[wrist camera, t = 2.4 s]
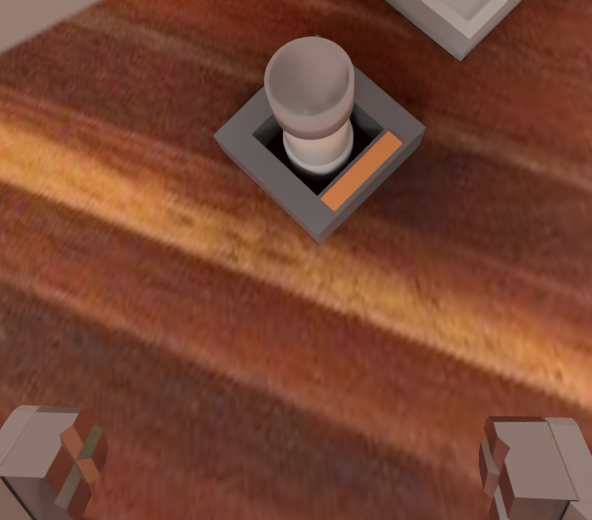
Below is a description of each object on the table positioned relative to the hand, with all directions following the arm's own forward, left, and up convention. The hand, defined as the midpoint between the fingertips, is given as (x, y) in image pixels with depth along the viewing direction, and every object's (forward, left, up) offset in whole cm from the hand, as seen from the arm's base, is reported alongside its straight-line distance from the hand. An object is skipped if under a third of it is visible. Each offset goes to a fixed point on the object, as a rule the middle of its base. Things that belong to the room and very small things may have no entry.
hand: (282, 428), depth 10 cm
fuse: (-9, +9, -17) cm, 21 cm away
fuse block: (-9, +9, -17) cm, 21 cm away
